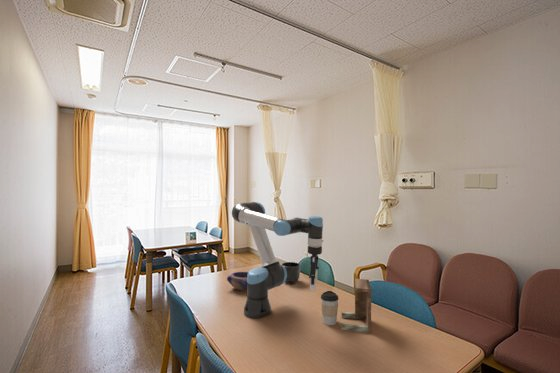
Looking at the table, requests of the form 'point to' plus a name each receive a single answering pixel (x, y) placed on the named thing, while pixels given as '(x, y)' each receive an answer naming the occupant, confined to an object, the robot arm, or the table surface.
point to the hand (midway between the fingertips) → (313, 285)
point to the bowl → (238, 280)
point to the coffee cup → (329, 307)
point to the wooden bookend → (360, 307)
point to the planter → (292, 272)
